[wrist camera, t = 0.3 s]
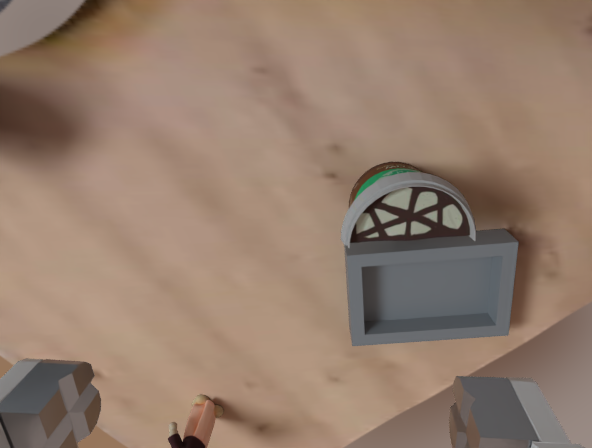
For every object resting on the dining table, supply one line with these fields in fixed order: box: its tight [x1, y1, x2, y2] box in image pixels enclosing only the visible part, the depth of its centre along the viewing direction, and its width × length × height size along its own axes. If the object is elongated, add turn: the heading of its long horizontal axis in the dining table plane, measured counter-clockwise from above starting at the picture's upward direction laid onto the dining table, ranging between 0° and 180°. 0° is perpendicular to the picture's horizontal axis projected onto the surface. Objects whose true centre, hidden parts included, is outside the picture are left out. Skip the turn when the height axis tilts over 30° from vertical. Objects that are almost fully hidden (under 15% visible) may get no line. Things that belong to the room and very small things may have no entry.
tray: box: [344, 229, 518, 346], centre depth 50 cm, size 12×18×4 cm, turn 96°
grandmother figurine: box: [168, 395, 224, 448], centre depth 54 cm, size 8×4×13 cm, turn 55°
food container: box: [341, 162, 476, 248], centre depth 42 cm, size 12×6×10 cm, turn 94°
